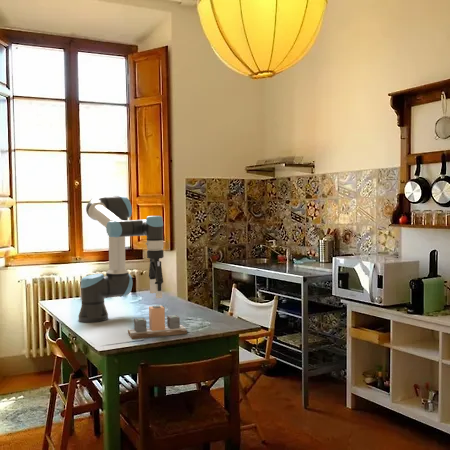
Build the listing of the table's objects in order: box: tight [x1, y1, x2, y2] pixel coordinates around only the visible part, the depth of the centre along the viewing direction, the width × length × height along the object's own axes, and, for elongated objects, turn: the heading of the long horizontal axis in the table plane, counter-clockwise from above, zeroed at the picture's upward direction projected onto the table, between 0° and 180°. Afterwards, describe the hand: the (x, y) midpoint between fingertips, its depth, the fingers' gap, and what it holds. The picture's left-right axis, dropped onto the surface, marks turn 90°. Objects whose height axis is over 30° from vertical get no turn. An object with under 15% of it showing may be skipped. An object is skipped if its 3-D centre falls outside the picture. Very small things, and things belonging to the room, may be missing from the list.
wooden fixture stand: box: [127, 314, 188, 340], centre depth 244 cm, size 12×25×7 cm, turn 109°
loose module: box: [148, 305, 166, 331], centre depth 244 cm, size 6×6×10 cm
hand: (156, 295), depth 244 cm, fingers open, 13 cm apart
